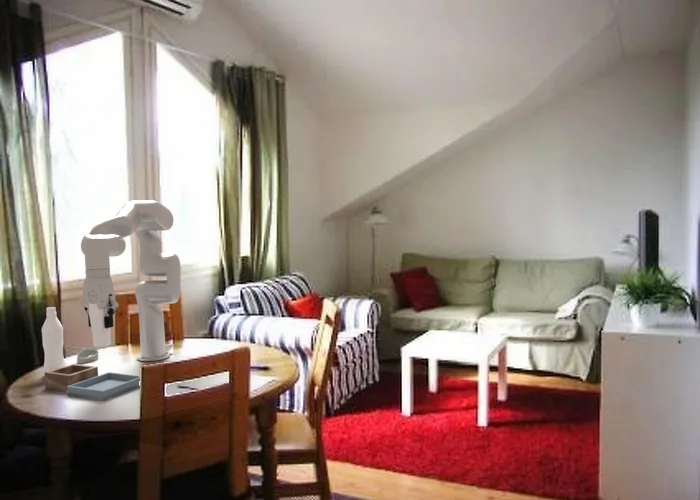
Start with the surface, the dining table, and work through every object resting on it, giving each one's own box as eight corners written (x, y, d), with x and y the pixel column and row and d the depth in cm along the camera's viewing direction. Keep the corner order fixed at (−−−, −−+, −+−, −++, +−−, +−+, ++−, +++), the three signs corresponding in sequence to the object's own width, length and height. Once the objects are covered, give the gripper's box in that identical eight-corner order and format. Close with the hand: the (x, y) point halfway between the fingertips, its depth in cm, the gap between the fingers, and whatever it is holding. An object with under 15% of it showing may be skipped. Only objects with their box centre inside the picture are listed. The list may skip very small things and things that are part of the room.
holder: (74, 378, 222) (73, 363, 221) (98, 382, 217) (97, 366, 216) (45, 388, 211) (44, 372, 211) (70, 391, 206) (69, 375, 206)
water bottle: (70, 372, 231) (66, 306, 229) (55, 377, 224) (51, 309, 222) (55, 371, 233) (51, 305, 231) (39, 376, 226) (35, 309, 225)
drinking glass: (95, 344, 210) (92, 300, 209) (115, 343, 210) (113, 299, 209) (88, 349, 203) (85, 304, 202) (109, 348, 204) (106, 303, 202)
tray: (109, 380, 219) (109, 372, 219) (144, 384, 212) (143, 376, 212) (67, 395, 202) (66, 386, 202) (103, 400, 196) (103, 391, 196)
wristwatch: (92, 357, 254) (91, 345, 254) (103, 359, 251) (102, 346, 251) (73, 362, 246) (72, 350, 245) (84, 364, 243) (83, 352, 243)
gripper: (70, 274, 205) (73, 327, 206) (108, 275, 198) (111, 330, 199) (88, 271, 212) (91, 323, 213) (126, 273, 204) (129, 326, 206)
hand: (101, 326), depth 206 cm, fingers closed on drinking glass, 6 cm apart
